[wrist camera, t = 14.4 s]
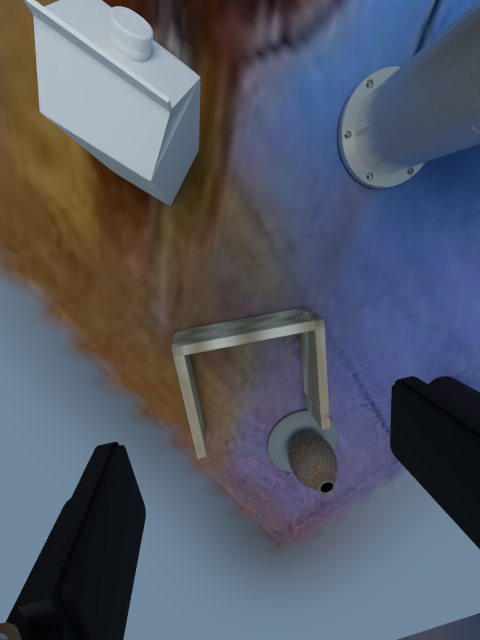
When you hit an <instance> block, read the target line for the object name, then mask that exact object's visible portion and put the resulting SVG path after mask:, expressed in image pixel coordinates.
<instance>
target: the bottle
mask: <svg viewBox="0 0 480 640" xmlns="http://www.w3.org/2000/svg"><path fill="white" fill-rule="evenodd" d="M430 386H431V387H433V388H434V389H436V390H438V391H439V392H441V393H442V394H444V395H446V396H447V397H449V398H450V399H452V400H454V401H455V402H457V403H458V404H460V405H462V406H463V407H465V408H466V409H468V410H470V411H471V412H473V413H474V414H476V415H478V416H479V417H480V392H478V391H476V390H474V389H473V388H471V387H469V386H467V385H465V384H463V383H461V382H460V381H458V380H456V379H454V378H451V377H442V378H439V379H437V380H435V381H434V382H432V383H431V384H430Z"/></svg>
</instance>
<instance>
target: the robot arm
mask: <svg viewBox="0 0 480 640" xmlns="http://www.w3.org/2000/svg"><path fill="white" fill-rule="evenodd" d="M345 136H346V138H345ZM338 144H339V150H340V154H341V157H342V160H343V163H344V165H345V167H346V168H347V170H348V172H349V173H350V174H351V175H352V176H353V178H355V179H356V180H357V181H358V182H360V183H361V184H363V185H365V186H368V187H371V188H376V189H383V188H389V187H394V186H396V185H399V184H402V183H404V182H405V181H407V180H409V179H410V178H412V177H413V176H414V175H415V174H416V173H417V172H418V171H419V170H420V169H421V168H422V166H423V165H424V164H425V162H428V161H431V160H434V159H437V158H440V157H443V156H446V155H448V154H451V153H454V152H457V151H460V150H463V149H466V148H469V147H472V146H475V145H478V144H480V0H479V1H478V2H477V3H476V4H475V5H473V6H472V7H471V8H470V9H469V10H468V11H466V12H465V13H464V14H463V15H462V16H461V17H459V18H458V19H457V20H456V21H455V22H453V23H452V24H451V25H450V26H449V27H448V28H446V29H445V30H444V31H443V32H442V33H440V34H439V35H438V36H437V37H436V38H435V39H433V40H432V41H431V42H430V43H429V44H427V45H426V46H425V47H424V48H423V49H422V50H420V51H419V52H418V53H417V54H416V55H415V56H413V57H412V58H411V59H410V60H409V61H407V62H406V63H405V64H404V65H403V66H389V67H385V68H381V69H379V70H377V71H375V72H373V73H372V74H370V75H369V76H368V77H366V78H365V79H364V80H363V81H362V82H361V83H360V84H359V85H358V86H357V87H356V88H355V89H354V91H353V92H352V93H351V95H350V96H349V98H348V100H347V102H346V104H345V106H344V108H343V111H342V114H341V117H340V122H339V128H338ZM390 447H391V450H392V453H393V454H394V456H395V457H396V458H397V459H398V460H399V461H400V463H401V464H402V465H403V466H404V467H405V468H406V469H407V470H408V471H409V472H410V473H411V475H412V476H413V477H414V478H415V479H416V480H417V481H418V482H419V483H420V484H421V485H422V487H423V488H424V489H425V490H426V491H427V492H428V493H429V494H430V495H431V496H432V498H433V499H434V500H435V501H436V502H437V503H438V504H439V505H440V506H441V507H442V508H443V510H445V511H446V513H447V514H448V515H449V516H450V517H451V518H452V519H453V520H454V522H455V523H456V524H457V525H458V526H459V527H460V528H461V529H462V530H463V531H464V533H465V534H466V535H467V536H468V537H469V538H470V539H471V540H472V541H473V542H474V543H475V545H476V546H477V547H478V548H479V549H480V417H479V416H478V415H476V414H474V413H473V412H471V411H470V410H468V409H466V408H465V407H463V406H462V405H460V404H458V403H457V402H455V401H454V400H452V399H450V398H449V397H447V396H446V395H444V394H442V393H441V392H439V391H438V390H436V389H434V388H433V387H431V386H430V385H428V384H426V383H425V382H423V381H422V380H420V379H418V378H417V377H414V376H411V377H407V378H402V379H398V380H396V382H395V385H393V386H392V398H391V434H390ZM145 517H146V510H145V505H144V502H143V499H142V496H141V493H140V490H139V487H138V484H137V481H136V478H135V475H134V472H133V469H132V466H131V463H130V460H129V457H128V454H127V451H126V448H125V446H124V445H121V446H119V444H118V443H117V442H112V443H108V444H103V445H99V446H97V447H96V448H95V450H94V452H93V454H92V456H91V458H90V460H89V462H88V464H87V466H86V468H85V471H84V472H83V475H82V477H81V479H80V481H79V483H78V485H77V487H76V489H75V491H74V493H73V495H72V497H71V499H69V500H68V501H67V502H66V504H65V505H64V507H63V509H62V511H61V513H60V515H59V517H58V519H57V521H56V523H55V525H54V527H53V529H52V531H51V533H50V535H49V537H48V539H47V541H46V543H45V545H44V547H43V549H42V551H41V553H40V555H39V557H38V559H37V561H36V563H35V565H34V567H33V569H32V571H31V573H30V575H29V577H28V579H27V581H26V583H25V585H24V587H23V589H22V591H21V593H20V595H19V597H18V599H17V601H16V603H15V605H14V607H13V609H12V611H11V613H10V615H9V617H8V619H7V621H6V622H5V623H0V640H123V638H124V632H125V627H126V621H127V616H128V610H129V605H130V600H131V594H132V588H133V583H134V578H135V573H136V567H137V562H138V556H139V550H140V545H141V540H142V535H143V529H144V523H145ZM398 640H480V613H479V614H476V615H473V616H469V617H466V618H463V619H460V620H457V621H454V622H451V623H447V624H444V625H441V626H438V627H435V628H432V629H429V630H426V631H423V632H420V633H417V634H414V635H411V636H407V637H404V638H402V639H398Z"/></svg>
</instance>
